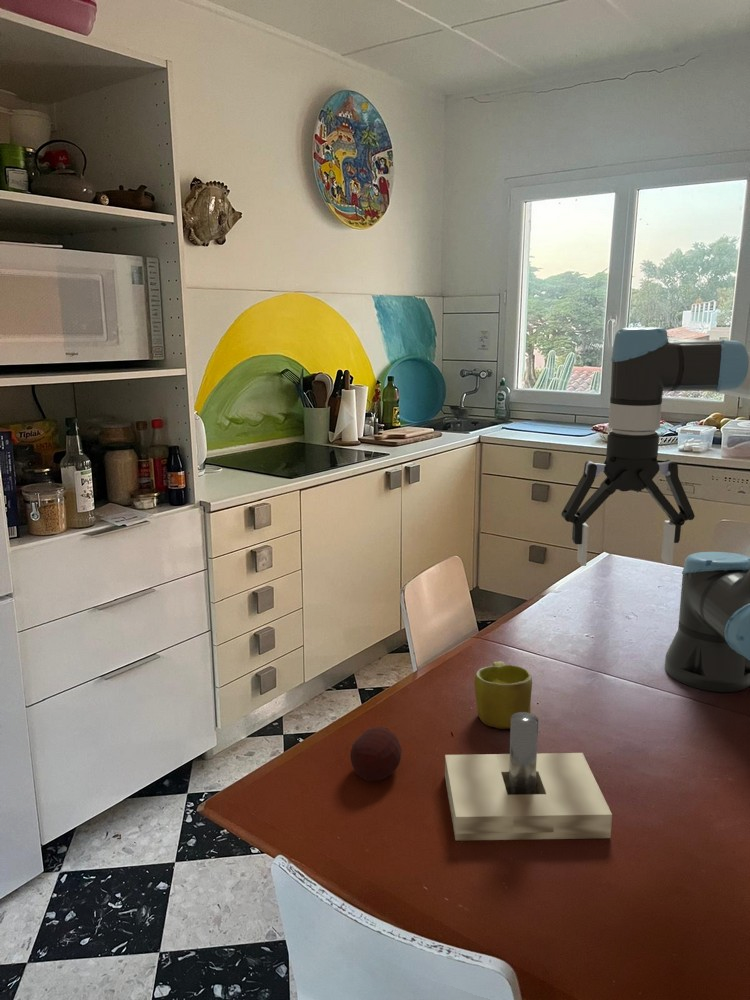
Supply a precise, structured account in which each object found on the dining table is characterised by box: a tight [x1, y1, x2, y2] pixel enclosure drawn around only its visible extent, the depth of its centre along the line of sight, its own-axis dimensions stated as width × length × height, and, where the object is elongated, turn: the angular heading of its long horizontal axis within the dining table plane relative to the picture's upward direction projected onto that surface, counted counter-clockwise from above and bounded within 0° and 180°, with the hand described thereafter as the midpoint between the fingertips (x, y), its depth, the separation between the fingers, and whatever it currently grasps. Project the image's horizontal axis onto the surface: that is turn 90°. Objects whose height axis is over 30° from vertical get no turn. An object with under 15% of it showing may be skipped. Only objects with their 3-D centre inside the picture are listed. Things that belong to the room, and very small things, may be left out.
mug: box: [474, 660, 533, 730], centre depth 128 cm, size 12×10×10 cm
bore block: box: [444, 752, 613, 842], centre depth 105 cm, size 20×14×4 cm
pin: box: [508, 712, 539, 795], centre depth 104 cm, size 4×4×12 cm
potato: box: [350, 726, 402, 782], centre depth 113 cm, size 7×10×6 cm
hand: (623, 562), depth 122 cm, fingers open, 13 cm apart
